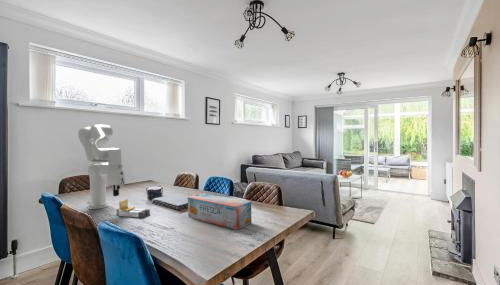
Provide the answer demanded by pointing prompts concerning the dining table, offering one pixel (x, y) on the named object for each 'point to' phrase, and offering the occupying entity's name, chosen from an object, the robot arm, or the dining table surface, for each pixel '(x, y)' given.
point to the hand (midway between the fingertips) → (116, 195)
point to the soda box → (220, 210)
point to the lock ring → (124, 205)
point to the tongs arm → (131, 213)
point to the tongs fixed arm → (143, 210)
